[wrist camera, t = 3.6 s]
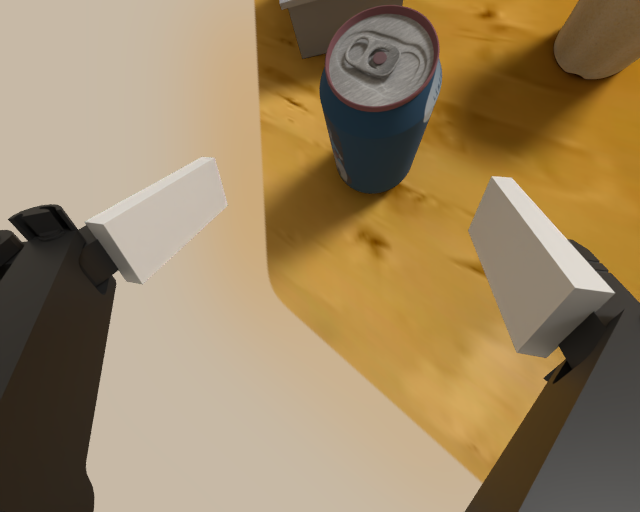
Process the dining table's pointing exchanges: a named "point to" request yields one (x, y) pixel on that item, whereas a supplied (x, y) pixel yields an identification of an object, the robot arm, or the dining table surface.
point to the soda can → (379, 94)
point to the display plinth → (324, 20)
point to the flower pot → (599, 38)
